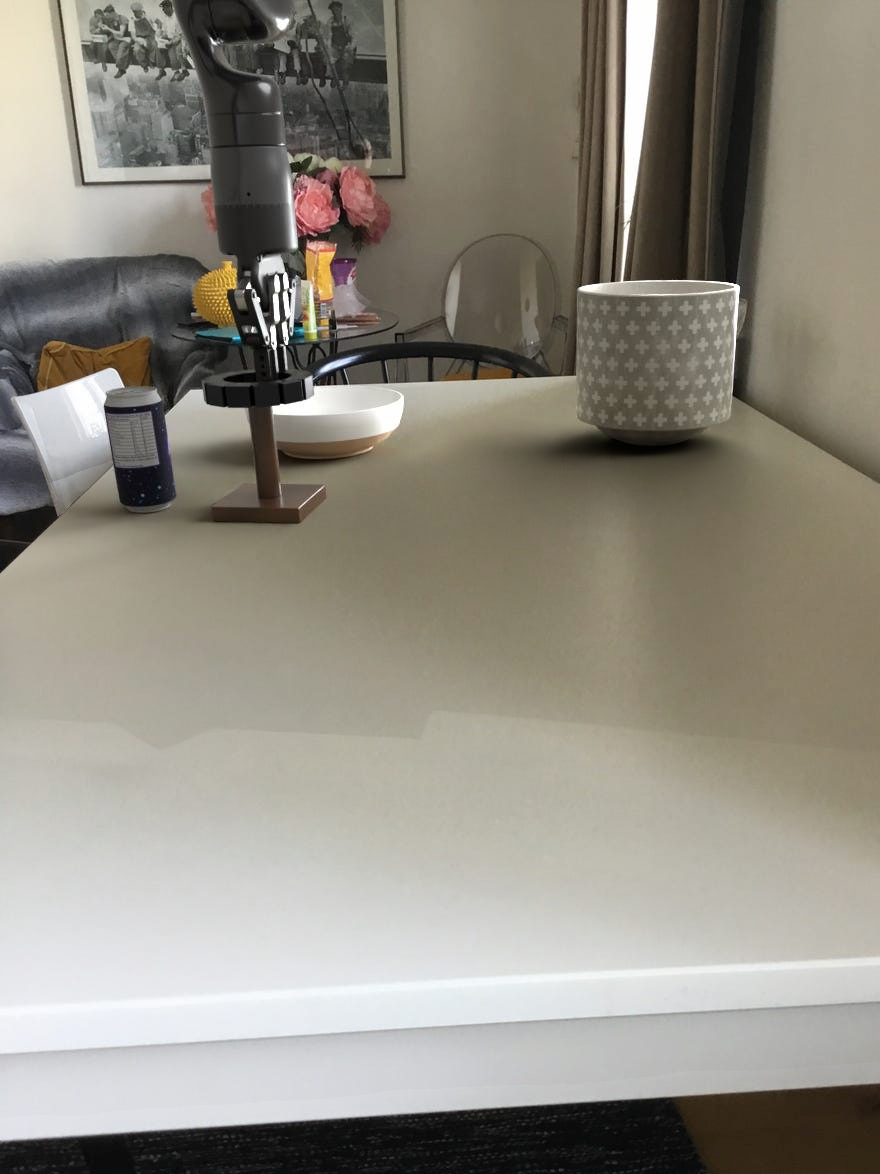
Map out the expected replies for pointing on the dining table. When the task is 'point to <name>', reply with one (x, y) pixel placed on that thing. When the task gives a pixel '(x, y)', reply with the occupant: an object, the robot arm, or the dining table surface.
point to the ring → (257, 389)
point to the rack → (267, 483)
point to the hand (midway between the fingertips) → (273, 384)
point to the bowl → (337, 421)
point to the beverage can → (140, 448)
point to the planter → (655, 358)
